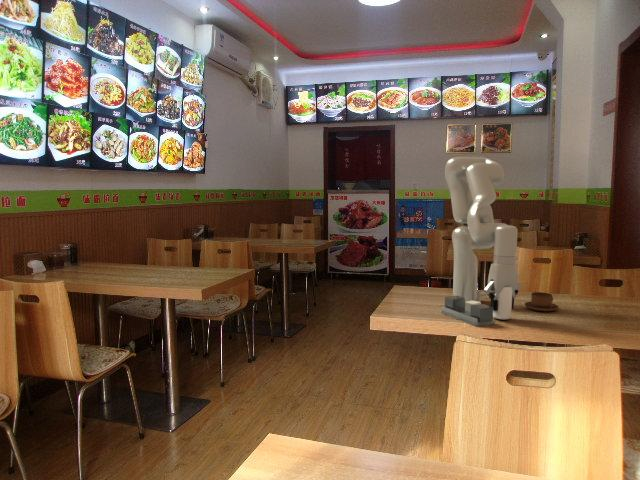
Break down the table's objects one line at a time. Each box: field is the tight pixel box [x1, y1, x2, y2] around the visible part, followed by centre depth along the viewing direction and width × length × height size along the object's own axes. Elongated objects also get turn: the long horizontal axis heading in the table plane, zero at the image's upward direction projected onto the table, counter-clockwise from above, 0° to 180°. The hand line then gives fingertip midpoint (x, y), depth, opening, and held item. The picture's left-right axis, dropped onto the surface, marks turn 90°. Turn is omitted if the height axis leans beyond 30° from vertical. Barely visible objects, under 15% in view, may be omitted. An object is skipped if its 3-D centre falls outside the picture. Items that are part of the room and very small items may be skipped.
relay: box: [465, 300, 482, 312], centre depth 190 cm, size 5×4×4 cm
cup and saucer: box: [524, 291, 559, 312], centre depth 195 cm, size 12×12×6 cm
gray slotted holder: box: [440, 295, 496, 328], centre depth 181 cm, size 8×20×6 cm, turn 22°
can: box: [493, 286, 512, 321], centre depth 180 cm, size 6×6×12 cm
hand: (501, 308), depth 180 cm, fingers closed on can, 6 cm apart
